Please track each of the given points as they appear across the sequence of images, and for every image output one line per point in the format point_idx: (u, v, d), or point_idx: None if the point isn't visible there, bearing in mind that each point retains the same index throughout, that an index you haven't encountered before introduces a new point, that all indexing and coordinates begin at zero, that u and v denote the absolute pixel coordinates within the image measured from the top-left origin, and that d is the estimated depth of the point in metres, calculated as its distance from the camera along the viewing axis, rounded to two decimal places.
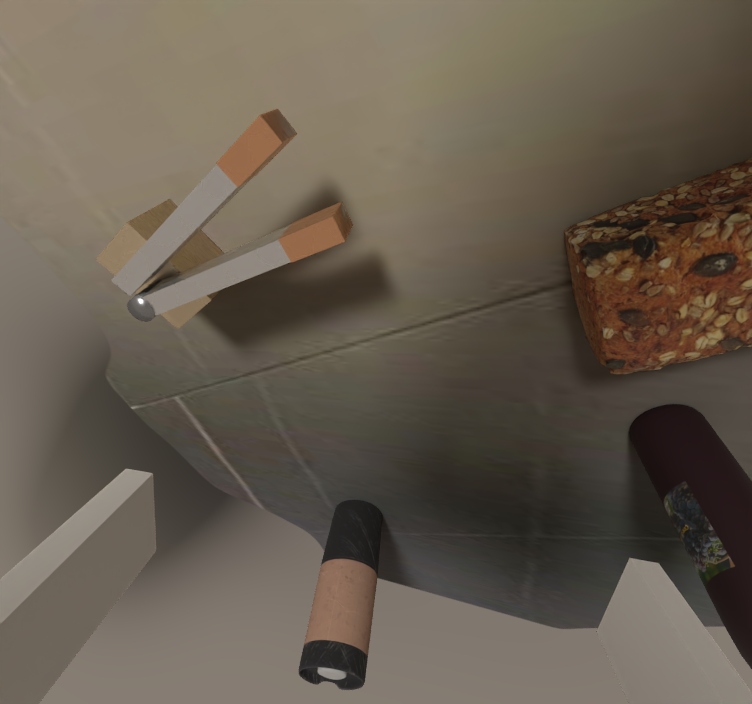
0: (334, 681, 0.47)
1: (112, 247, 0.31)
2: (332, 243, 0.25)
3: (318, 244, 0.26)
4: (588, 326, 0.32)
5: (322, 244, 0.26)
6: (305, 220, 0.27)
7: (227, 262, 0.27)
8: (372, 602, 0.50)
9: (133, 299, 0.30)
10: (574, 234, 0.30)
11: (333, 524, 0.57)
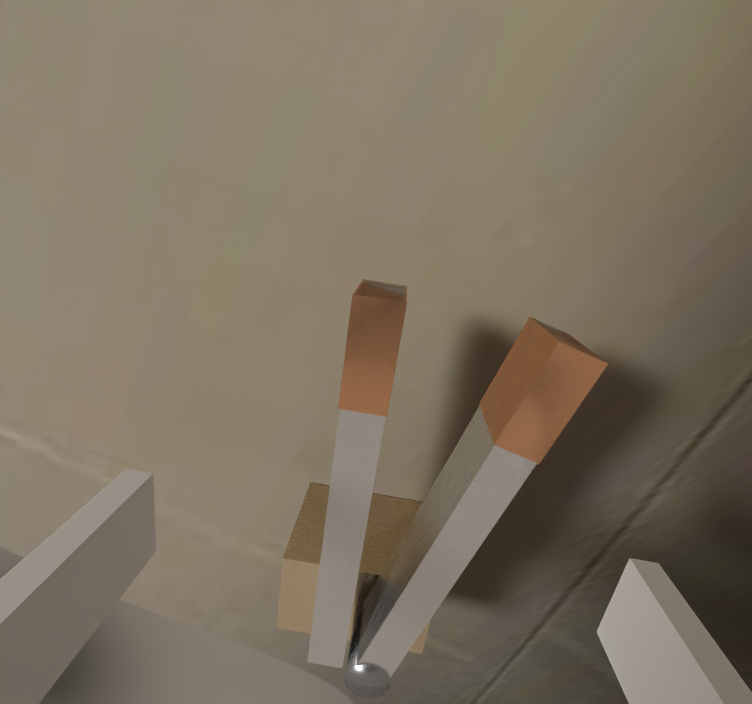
0: None
1: (285, 600, 0.21)
2: (588, 383, 0.13)
3: (565, 403, 0.13)
4: None
5: (570, 397, 0.13)
6: (502, 384, 0.15)
7: (441, 533, 0.15)
8: None
9: (349, 673, 0.18)
10: None
11: None
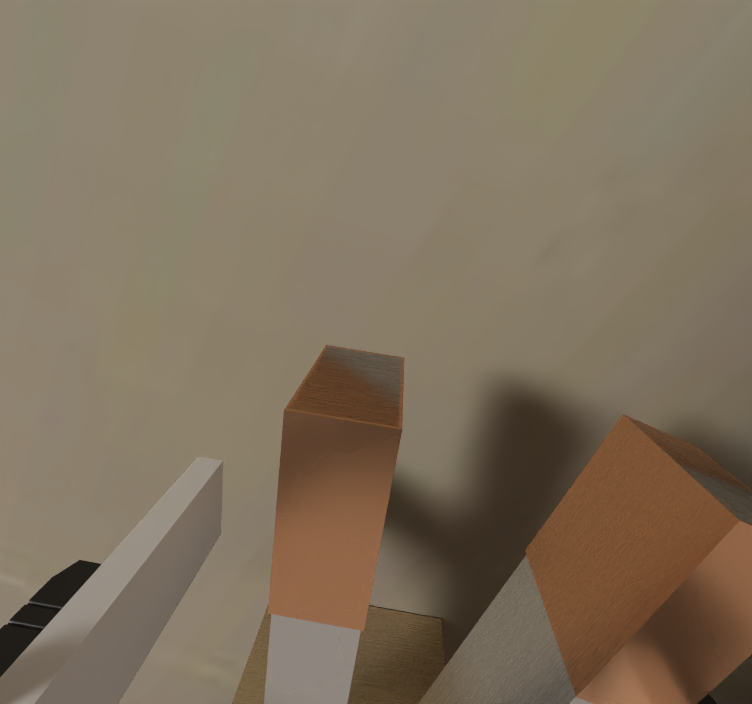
0: None
1: None
2: None
3: (737, 633, 0.06)
4: None
5: (747, 622, 0.06)
6: (575, 541, 0.08)
7: None
8: None
9: None
10: None
11: None
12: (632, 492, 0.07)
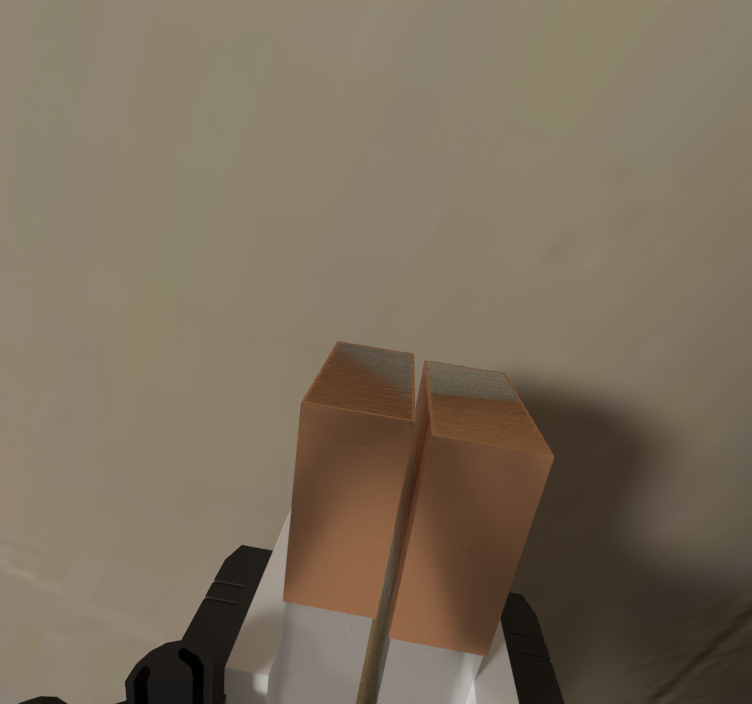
0: None
1: None
2: (525, 501, 0.06)
3: (494, 545, 0.06)
4: None
5: (500, 533, 0.06)
6: (403, 491, 0.08)
7: None
8: None
9: None
10: None
11: None
12: (417, 432, 0.07)
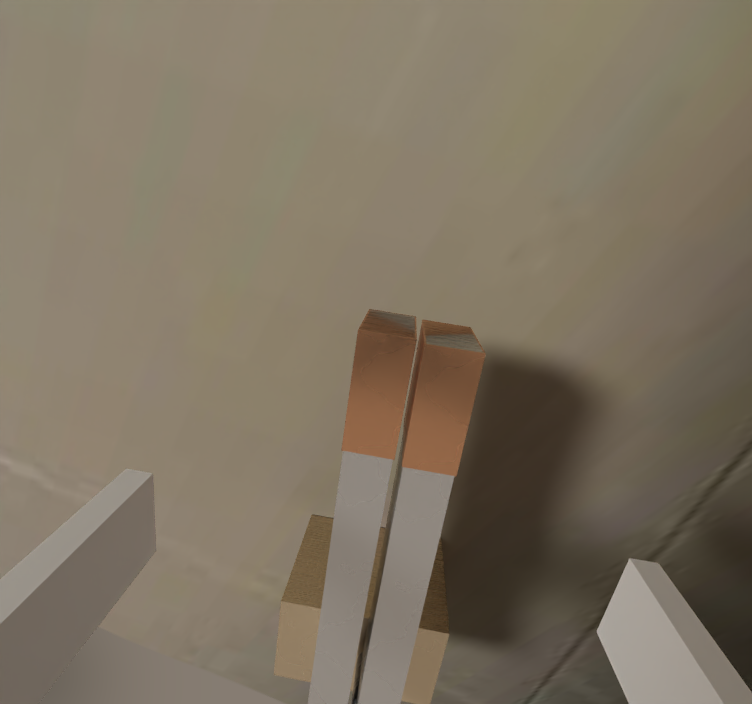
0: None
1: (283, 645, 0.20)
2: (472, 379, 0.11)
3: (458, 405, 0.12)
4: None
5: (461, 399, 0.12)
6: (409, 397, 0.14)
7: (385, 571, 0.14)
8: None
9: None
10: None
11: None
12: (418, 356, 0.13)
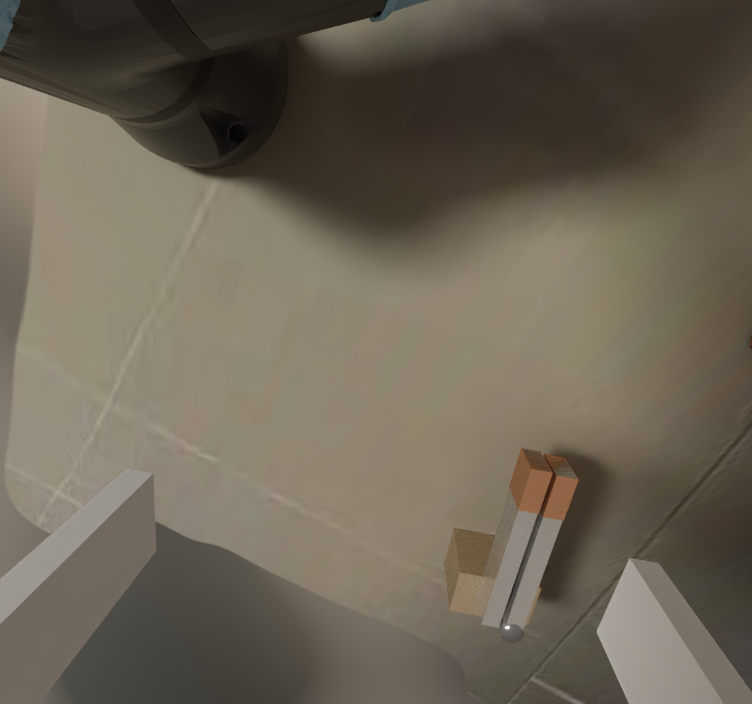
0: None
1: (457, 594, 0.40)
2: (573, 487, 0.32)
3: (566, 496, 0.32)
4: None
5: (568, 493, 0.32)
6: None
7: (530, 557, 0.34)
8: None
9: (502, 631, 0.37)
10: None
11: None
12: None
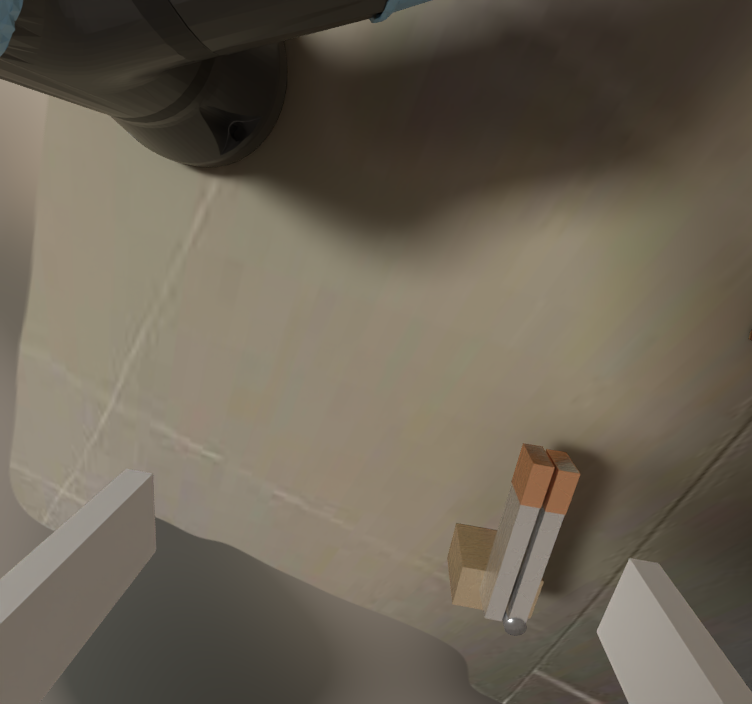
0: None
1: (460, 589, 0.41)
2: (575, 482, 0.32)
3: (568, 490, 0.32)
4: None
5: (569, 488, 0.32)
6: None
7: (532, 551, 0.34)
8: None
9: (505, 624, 0.37)
10: None
11: None
12: None
